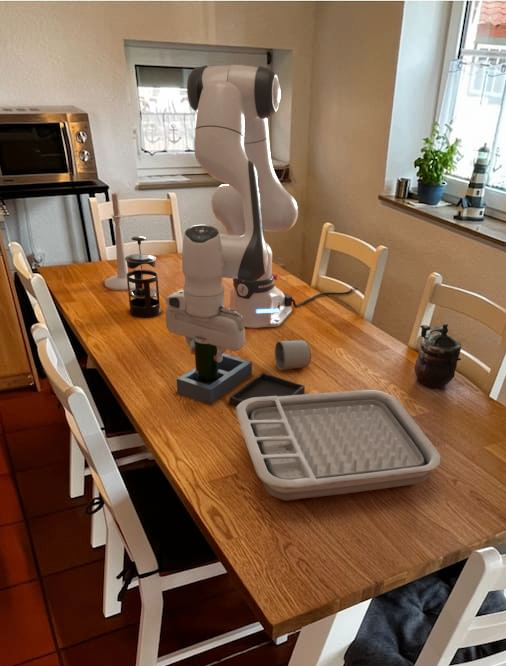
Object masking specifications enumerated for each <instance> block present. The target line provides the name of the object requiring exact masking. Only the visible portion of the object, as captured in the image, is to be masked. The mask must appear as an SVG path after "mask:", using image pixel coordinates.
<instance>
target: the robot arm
mask: <svg viewBox="0 0 506 666" xmlns="http://www.w3.org/2000/svg"><path fill="white" fill-rule="evenodd" d="M278 77H279V76H278V75H277V74H276V73H275V71H274V70H273V69H272V68H269V67H265V66H261V65H259V66H258V67H257V66H252V65H246V64H245V65H244V64H231V65H213V66H208V65H202V66H201V65H200V66H198V67H195V68H193V69H192V71H190V73H189V74H188V77H187V83H186V95H187V99H188V100H187V101H188V103H189V106H190V108H191V109H192V110H193V112H194V113H195V123H194V134H193V135H194V138H193V139H194V140H193V142H194V143H193V147H194V148H193V149H194V156H195V159H196V161H197V163H198V164H199V166H200V168H202V170H203V171H204V172H206V173H207V174H208V175H210V176H211V177H213V178H214V179H215V180H217V181H219V182H221V183H223V184H221V185H219V186H218V187H217V188H216V189H215V190H214V192H213V194H212V196H211V201H210V202H211V204H210V205H211V210H212V213H213V215H214V216H215V218H216V219H217V220H218V221H219V222H220V223H221V225H222V226H223V227H224V228H225V230H226V232H227V233H228V234H225V233H224V234H223V233H220V231H219V230H218V229H217V228H216V227H214V226H212V225H208V224H197V225H192V226H190V227H188V228H187V229H186V230H185V231H184V232H183V239H182V247H181V248H182V250H181V251H182V252H181V266H182V269H181V270H182V273H183V276H184V284H183V289H180V290H177V291H175V292H173V293H171V294H169V295H168V296H166V297H165V304H166V305H167V307H166V308H165V326H166V328H167V330H168V332H170V333H172V334H175V335H178V336H181V337H185V342H186V344H187V345H188V347H189V351H190V354H191V355H194V356H195V345H194V339H195V338H196V337H195V336H197V337H198V338H199V337H201V338H203V339H207V340H206V341H207V342H208V343H209V344H211V345H214V346H217V350H218V352H217V353H216V354H214V355H213V358H214V359H213V361H216V362H219V363H220V362H221V361H222V360H223V353H225V352H226V350H228V351H230V352H231V351H232V352H238V351H240V350H241V349H242V348H244V347H245V346H246V342H247V341H246V330H245V328H252V329H254V328H255V329H258V328H259V329H260V328H268V327H269V328H270V327H271V328H277V327H280V326H281V324H282V323H283V322H284V321H285V320H286V319H287V318H288V317H289V316H290V314H291V313H292V312H293V308H292V307H291V306H293V307H294V308H298V307H301V306H303V305H305V304H307V303H308V302H310V301H313V300H315V299H316V298H318V297H321V296H326V295H327V296H328V295H330V296H332V295H333V296H341V295H348V294H351V293H352V292H353V291H354V290H357V291H358V290H359V288H358V287H357V286H355V285H354V286H352V288H354V289H353V290H352V288H350V289H349V290H348V291H345V292H344V291H343V292H333V291H332V292H331V291H330V292H329V291H327V292H320V293H318V294H315V295H313V296H312V297H309V298H308V299H306V300H304V301H303V302H302V303H299V304H296V300H295V299H294V298H293V296H291V295H289V294H287V293H286V292H283V291H281V289H279V288H278V287H277V286H276V285H275V281H278V280H279V278H280V274H279V273H276V272H273V250H272V248H271V246H270V245H269V244H268V243H267V242H266V240H265V231H266V232H271V233H276V232H278V233H279V232H288V231H290V230H291V229H292V228H293V227H294V226H295V224H296V222H297V220H298V216H299V206H298V204H297V201H296V199H295V197H294V196H293V195H291V193H289V191H287V189H286V188H285V187H284V186H283V184H282V183H281V181H280V180H279V178H278V176H277V173H276V172H275V169H274V166H273V161H272V153H271V144H270V131H269V122H268V118H270V117H272V116H274V115H275V114H276V112H277V111H278V109H279V105H280V102H281V96H282V94H281V93H282V90H281V85H280V82H279V78H278ZM223 279H232V286H233V287H232V288H231V289H230V298H229V308H228V307H225V288H224V283H223Z"/></svg>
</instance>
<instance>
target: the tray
mask: <svg viewBox="0 0 506 666" xmlns="http://www.w3.org/2000/svg"><path fill="white" fill-rule="evenodd" d="M305 386H306V385H304V384H300V383H297V382H295V381H291V380H288V379H285V378H282V377H279V376H274V375H272V374H268V373H266V372H261V373H260V374H259V375H257V376H256V377H254V378H253V379H252V380H250V381H249V382H248V383H247V384H245V385H244V386H242V387H240V389H238V390H237V391H235V392H234V393H233V394H231V395H230V396H228V404H229V406H232V407H235V408H236V407H237V405H238V404H239V403H241V402H242V401H244V400H246V399H249V398H254V397H267V396H278V397H279V396H291V395H304V394H305V388H306V387H305Z"/></svg>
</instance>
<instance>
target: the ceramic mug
mask: <svg viewBox="0 0 506 666" xmlns="http://www.w3.org/2000/svg"><path fill="white" fill-rule="evenodd" d="M274 360H275V364H276V367H277V368H278V370H280V371H286V370H293V369H294V370H295V369H301V368H306V367H308V366H309V365H310V363H311V362H312V348H311V346H310V344H309V343H308V342H307V341H306V340H302V339H301V340H299V339H298V340H278V341H277V342H276V343H275V347H274Z"/></svg>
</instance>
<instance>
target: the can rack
mask: <svg viewBox="0 0 506 666" xmlns="http://www.w3.org/2000/svg"><path fill="white" fill-rule="evenodd" d="M252 376H253V361H251V360H247V359H245V358H241V357H237V356H236V355H231V354H228V353H225V352H224V353H223V360H222V361H221V362H220V363H219V362H218V380H216V381H215V382H213V383H212V384H210V385H206V384H203V383H200V382H198V381H197V379H196V366H195V367H193V368H192V369H190V370H188V371H187V372H185V373H184V374H182V375H180V376H178V377H176V387H177V388H176V390H177V394H180V395H182V396H185V397H188V398H191V399H194V400H196V401H199V402H202V403H205V404H208V405H213V404H214V403H215V402H217V401H218V400H220V399H221V398H222V397H224V396H225V395H227V394H228V393H230V392H231V391H232V390H233V389H235V388H237V387H238V386H239V385H241V384H242V383H244V382H245V381H246V380H248V379H249V378H250V377H252Z"/></svg>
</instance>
